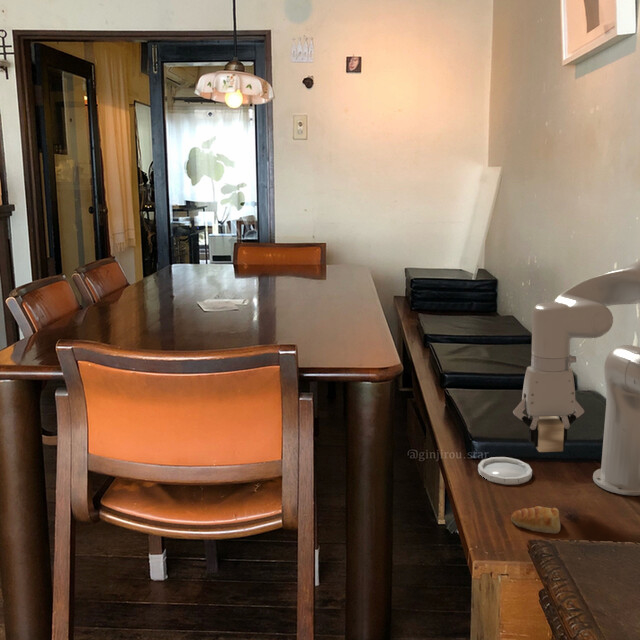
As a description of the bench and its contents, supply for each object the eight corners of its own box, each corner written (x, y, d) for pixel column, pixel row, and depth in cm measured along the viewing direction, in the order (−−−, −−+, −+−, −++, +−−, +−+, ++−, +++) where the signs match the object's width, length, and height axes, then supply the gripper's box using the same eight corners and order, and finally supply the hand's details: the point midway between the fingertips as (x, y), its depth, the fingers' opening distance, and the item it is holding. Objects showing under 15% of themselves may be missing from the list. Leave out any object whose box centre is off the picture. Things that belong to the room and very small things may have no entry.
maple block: (555, 441, 150) (556, 415, 148) (563, 451, 145) (564, 424, 143) (532, 442, 150) (532, 416, 148) (539, 452, 145) (539, 425, 144)
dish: (523, 462, 167) (523, 456, 167) (538, 484, 155) (538, 478, 155) (473, 462, 167) (473, 457, 167) (484, 484, 156) (484, 479, 155)
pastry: (512, 531, 136) (512, 513, 135) (510, 515, 143) (510, 498, 142) (562, 536, 134) (563, 518, 133) (557, 519, 141) (558, 502, 140)
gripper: (584, 355, 147) (581, 436, 151) (504, 358, 147) (502, 439, 151) (598, 366, 139) (594, 450, 143) (513, 369, 140) (511, 453, 144)
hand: (547, 443), depth 147 cm, fingers closed on maple block, 5 cm apart
